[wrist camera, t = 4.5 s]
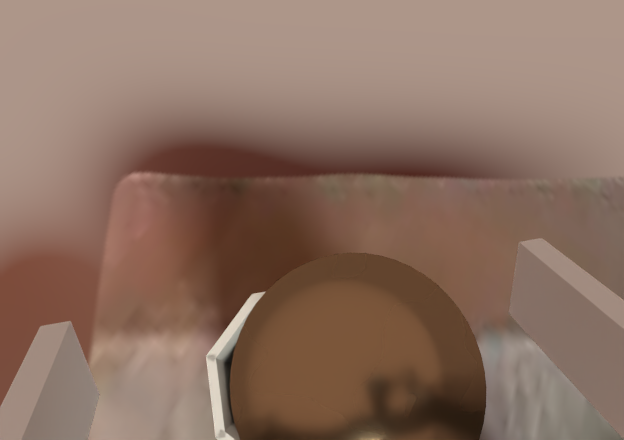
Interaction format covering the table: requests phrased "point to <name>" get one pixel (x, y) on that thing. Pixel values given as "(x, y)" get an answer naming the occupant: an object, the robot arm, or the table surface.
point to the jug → (226, 372)
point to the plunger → (357, 357)
